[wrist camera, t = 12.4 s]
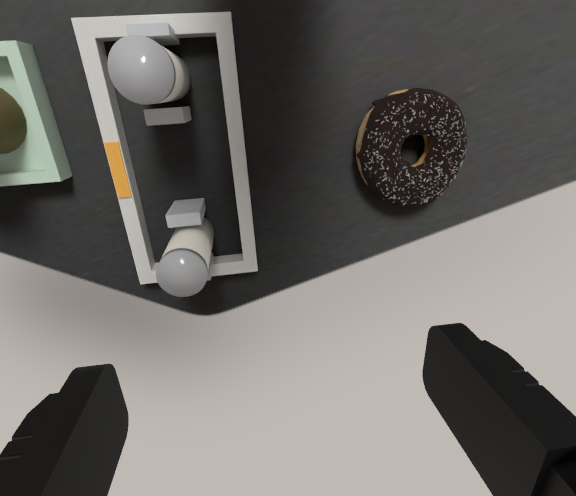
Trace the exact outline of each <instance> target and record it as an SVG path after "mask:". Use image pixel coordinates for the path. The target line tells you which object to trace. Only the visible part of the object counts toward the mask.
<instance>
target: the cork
mask: <svg viewBox="0 0 576 496" xmlns="http://www.w3.org/2000/svg"><path fill="white" fill-rule="evenodd" d="M26 134H27V122H26V118H25V115H24V113H23V110H22V108H21V107H20V106H19V104H18V103H17V101H16V100H15V99H14V98H13V97H12V96H11V95H10V94H9V93H7V92H6V91H5V90H4V89H2V88H0V154H6V153H10V152H12V151H14V150H16V149H18V148H19V147H20V145H21V144H22V143H23V142H24V140H25V137H26Z"/></svg>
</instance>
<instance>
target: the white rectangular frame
mask: <svg viewBox="0 0 576 496" xmlns="http://www.w3.org/2000/svg"><path fill="white" fill-rule="evenodd" d="M71 20H72V24H73V27H74V31H75V35H76V39H77V43H78V47H79V51H80V54H81V58H82V62H83V66H84V70H85V74H86V77H87V81H88V85H89V89H90V93H91V97H92V100H93V104H94V108H95V112H96V116H97V120H98V124H99V127H100V131H101V135H102V139H103V143H104V147H105V150H106V154H107V158H108V162H109V166H110V170H111V174H112V177H113V181H114V185H115V189H116V193H117V197H118V200H119V204H120V208H121V212H122V216H123V220H124V224H125V227H126V231H127V235H128V239H129V243H130V247H131V250H132V254H133V258H134V262H135V266H136V270H137V274H138V277H139V281H140V284H149V283H157V279H156V269H157V266H158V264H159V263H155V260H154V255H153V251H152V247H151V242H150V238H149V234H148V230H147V225H146V221H145V217H144V213H143V208H142V204H141V200H140V195H139V191H138V187H137V183H136V178H135V174H134V170H133V166H132V161H131V157H130V153H129V148H128V144H127V140H126V136H125V131H124V127H123V123H122V119H121V114H120V110H119V106H118V101H117V97H116V93H115V89H114V85H113V83H112V81H111V79H110V76H109V72H108V65H107V63H108V59H107V54H106V50H105V46H104V42H107V41H118V40H119V39H121V38H123V37H125V36H128V35H142V36H146V37H148V38H150V39H152V40H154V41H155V42H157V43H158V44H160V45H161V46H164V45H180V42H179V38H192V37H214V36H216V38H217V46H218V54H219V62H220V71H221V79H222V87H223V95H224V104H225V112H226V120H227V128H228V136H229V145H230V153H231V161H232V169H233V177H234V186H235V194H236V202H237V210H238V219H239V227H240V235H241V243H242V251H243V253H242V254H233V255H224V256H215V257H214V256H213V253H211V257H210V263H209V269H208V274H207V280H206V281H209V280H211V276H219V275H228V274H237V273H246V272H255V271H258V267H257V257H256V247H255V238H254V228H253V219H252V209H251V200H250V190H249V181H248V171H247V162H246V152H245V143H244V133H243V124H242V114H241V105H240V95H239V86H238V76H237V67H236V57H235V47H234V38H233V28H232V19H231V12H209V13H184V14H159V15H134V16H109V17H84V18H71ZM144 115H145V120H146V125H147V126H150V125H164V124H178V123H186V122H188V121H190V120H192V118H191V111H190V106H185V107H169V108H155V109H146V110H144ZM205 211H206V206H205V200H204V198H198V199H187V200H176V201H174V202H173V204H172V206H171V207H170V209H169V210H168V212H167V214H166V215H165V216H166V220H167V225H168V228H173V227H183V226H193V225H202V221H203V218H204V214H205Z"/></svg>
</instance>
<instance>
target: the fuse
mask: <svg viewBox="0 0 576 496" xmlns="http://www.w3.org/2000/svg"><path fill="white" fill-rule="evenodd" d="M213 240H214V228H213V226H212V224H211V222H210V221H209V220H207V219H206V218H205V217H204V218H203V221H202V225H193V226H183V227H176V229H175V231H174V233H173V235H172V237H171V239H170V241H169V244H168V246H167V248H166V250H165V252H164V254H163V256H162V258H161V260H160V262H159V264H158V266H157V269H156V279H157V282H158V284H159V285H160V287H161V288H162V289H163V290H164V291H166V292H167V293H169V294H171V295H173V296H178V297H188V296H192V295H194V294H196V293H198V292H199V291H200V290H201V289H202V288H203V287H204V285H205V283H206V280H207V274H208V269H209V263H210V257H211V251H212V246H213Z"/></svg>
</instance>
